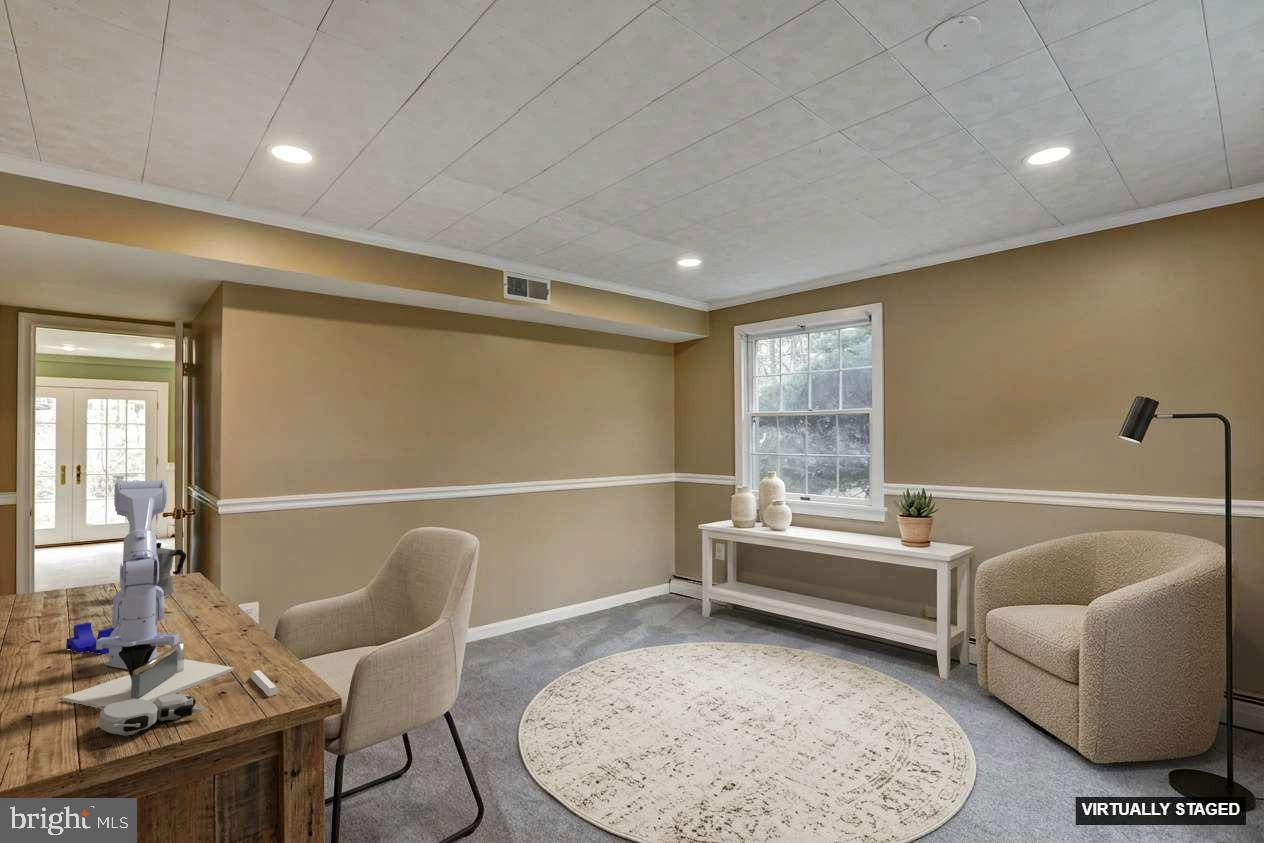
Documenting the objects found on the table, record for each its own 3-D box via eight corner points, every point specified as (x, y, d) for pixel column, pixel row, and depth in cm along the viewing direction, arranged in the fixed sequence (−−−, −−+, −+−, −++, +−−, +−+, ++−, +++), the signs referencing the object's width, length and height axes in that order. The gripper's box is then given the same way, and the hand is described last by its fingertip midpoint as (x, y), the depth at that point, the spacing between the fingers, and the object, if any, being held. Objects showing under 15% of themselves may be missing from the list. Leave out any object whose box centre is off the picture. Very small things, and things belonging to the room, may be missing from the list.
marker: (253, 679, 145) (274, 699, 134) (244, 676, 144) (264, 697, 133) (260, 668, 146) (281, 687, 135) (251, 665, 145) (272, 684, 134)
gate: (131, 697, 130) (131, 670, 130) (169, 672, 144) (170, 647, 144) (139, 697, 130) (139, 669, 130) (177, 671, 144) (177, 646, 144)
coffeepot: (126, 600, 208) (127, 545, 208) (146, 593, 217) (147, 540, 217) (176, 599, 209) (177, 545, 209) (193, 592, 218) (194, 540, 219)
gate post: (168, 675, 144) (168, 644, 145) (178, 672, 147) (179, 641, 147) (175, 677, 144) (176, 646, 144) (186, 673, 146) (186, 642, 146)
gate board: (62, 701, 131) (62, 697, 131) (178, 661, 153) (178, 658, 153) (122, 714, 125) (122, 709, 125) (233, 670, 148) (233, 667, 148)
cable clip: (66, 650, 161) (66, 627, 161) (87, 645, 165) (87, 622, 165) (94, 657, 156) (94, 633, 156) (115, 651, 160) (115, 628, 160)
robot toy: (183, 707, 131) (89, 727, 119) (186, 684, 131) (92, 703, 119) (205, 724, 123) (106, 748, 111) (207, 700, 123) (109, 722, 112)
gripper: (87, 623, 129) (85, 690, 129) (167, 619, 132) (166, 685, 132) (108, 613, 136) (107, 677, 136) (184, 610, 139) (183, 672, 138)
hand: (137, 680), depth 134 cm, fingers closed
